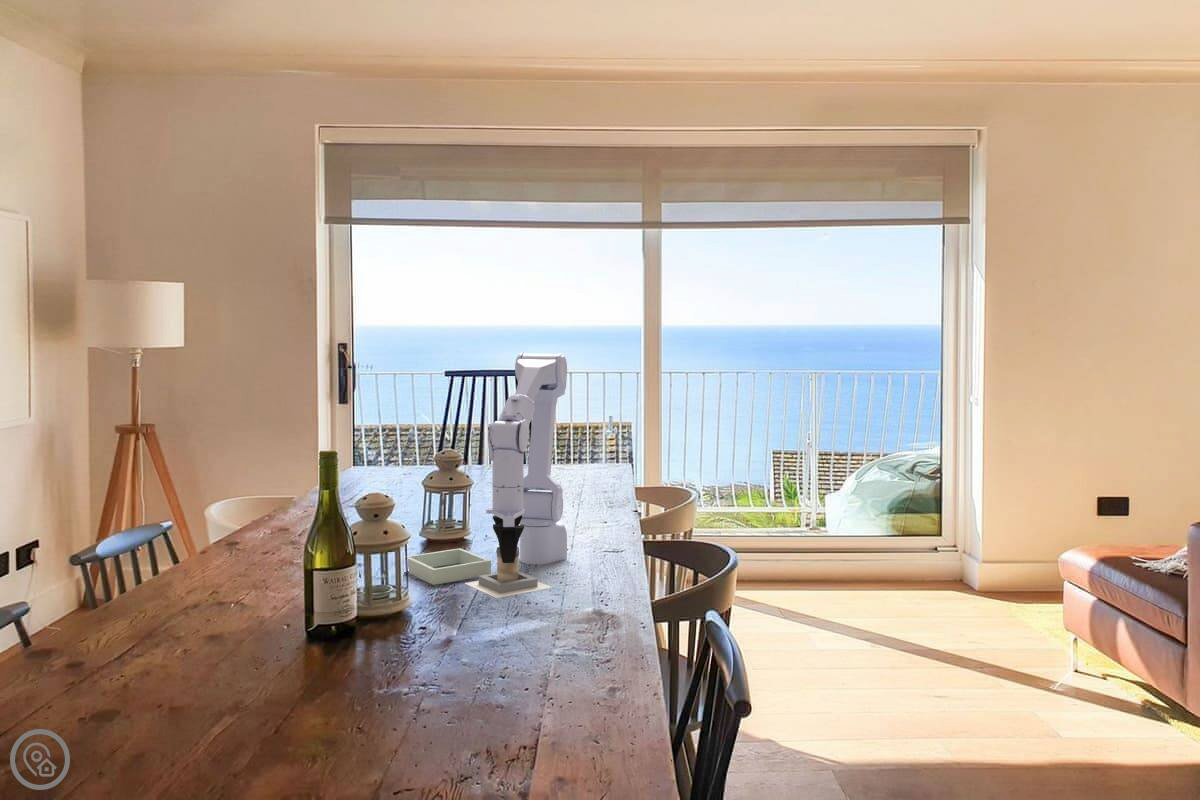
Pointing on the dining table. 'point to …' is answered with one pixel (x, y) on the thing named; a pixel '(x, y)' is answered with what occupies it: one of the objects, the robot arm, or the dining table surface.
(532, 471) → the robot arm
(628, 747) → the dining table surface
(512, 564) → the strut
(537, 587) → the square socket plate
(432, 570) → the bin
